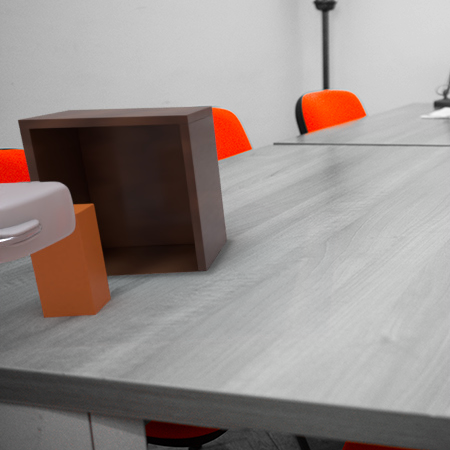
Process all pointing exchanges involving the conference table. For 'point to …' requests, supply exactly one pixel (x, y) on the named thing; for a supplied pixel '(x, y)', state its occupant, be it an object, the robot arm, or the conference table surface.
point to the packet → (73, 270)
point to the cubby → (137, 181)
